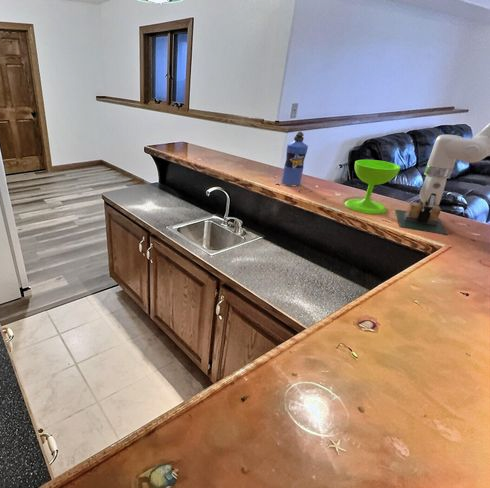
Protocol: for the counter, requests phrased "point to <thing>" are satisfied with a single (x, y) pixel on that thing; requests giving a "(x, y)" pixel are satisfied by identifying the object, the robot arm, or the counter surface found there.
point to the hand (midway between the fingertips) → (420, 218)
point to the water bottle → (294, 161)
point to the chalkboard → (419, 224)
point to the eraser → (415, 210)
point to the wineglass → (372, 184)
